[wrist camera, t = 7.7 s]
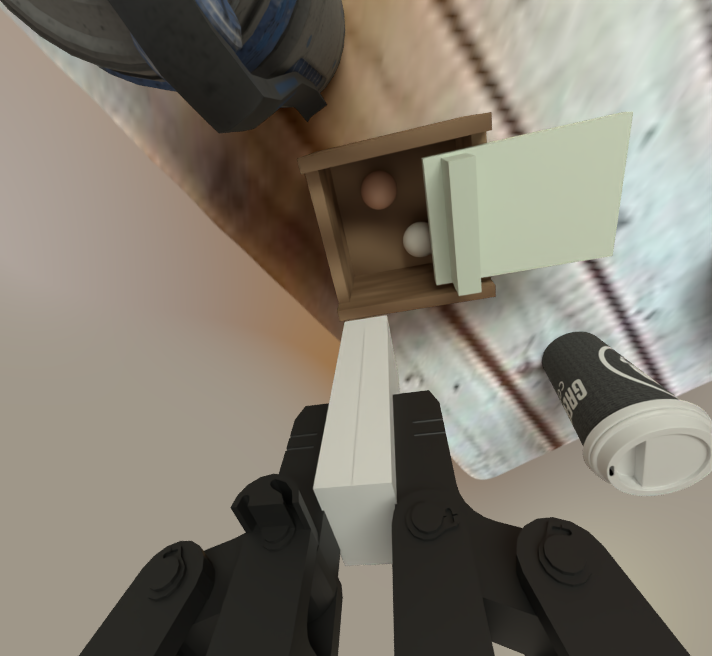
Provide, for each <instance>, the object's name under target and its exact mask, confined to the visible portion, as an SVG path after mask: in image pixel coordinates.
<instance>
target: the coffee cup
mask: <svg viewBox="0 0 712 656" xmlns="http://www.w3.org/2000/svg"><path fill="white" fill-rule="evenodd" d="M542 364H543V367H544V369H545V371H546V373H547V375H548V377H549V379H550V381H551V383H552V385H553V387H554V389H555V391H556V393H557V395H558V397H559V399H560V401H561V403H562V405H563V407H564V409H565V411H566V413H567V415H568V417H569V419H570V421H571V423H572V425H573V427H574V429H575V431H576V433H577V435H578V437H579V439H580V441H581V443H582V445H583V458H584V461H585V463H586V465H587V466H588V467H589V468H590V469H591V470H592V471H593V472H594V473H595V474H596V475H597V476H598V477H600V478H601V479H603V480H604V481H606V482H608V483H610V484H612V485H613V486H614V487H615V488H616V489H618V490H620V491H622V492H624V493H628V494H632V495H639V496H656V495H663V494H668V493H672V492H676V491H679V490H681V489H684V488H687V487H689V486H691V485H693V484H695V483H697V482H698V481H700V480H701V479H703V478H704V477H706V476H707V475H708V474H709V473H710V472H711V471H712V420H711V419H710V417H709V415H708V414H707V413H706V412H705V411H704V410H703V409H702V408H700V407H699V406H697V405H695V404H693V403H690V402H687V401H682V400H680V399H678V398H677V397H675V396H674V395H673V394H671V393H670V392H669V391H667V390H666V389H665V388H663V387H662V386H661V385H659V384H658V383H657V382H655V381H654V380H653V379H651V378H650V377H649V376H648V375H646V374H645V373H644V372H642V371H641V370H640V369H638V368H637V367H636V366H634V365H633V364H632V363H630V362H629V361H628V360H626V359H625V358H624V357H622V356H621V355H620V354H619V353H617V352H616V351H615V350H613V349H612V348H611V347H609V346H608V345H607V344H605V343H604V342H603V341H601V340H600V339H599V338H597V337H596V336H595V335H593V334H590V333H587V332H572V333H568V334H565V335H563V336H561V337H559V338H557V339H555V340H554V341H553V342H552V343H551V344H550V345H549V346H548V347H547V348H546V350H545V352H544V354H543V357H542Z"/></svg>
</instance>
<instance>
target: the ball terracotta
mask: <svg viewBox="0 0 712 656" xmlns="http://www.w3.org/2000/svg"><path fill="white" fill-rule="evenodd" d="M396 195H397V184H396V181H395V179H394V178H393V176H392V175H391V174H389V173H388V172H386V171H382V170H377V171H373V172H371V173H369V174H368V175H367V176H366V177H365V178H364V180H363V182H362V184H361V197H362V199H363V201H364V203H365V204H366V205H367V206H369V207H370V208H372V209H376V210H381V209H385V208H387V207H389V206H390V205H391V204H392V203H393V202H394V200H395V198H396Z"/></svg>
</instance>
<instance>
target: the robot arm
mask: <svg viewBox="0 0 712 656" xmlns="http://www.w3.org/2000/svg"><path fill="white" fill-rule="evenodd" d="M290 436H291V438H290V439H289V441H288V445H287V451H285V455H284V458H283V462H282V465H281V468H280V472H279V474H271V475H267V476H263V477H260V478H259V479H257V480H255V481H253V482H252V483H250V484H248V485H247V486H246V487H245V488H244V489H243V490H242V492H240V493H239V494H238V496H237V497H236V499H235V501H234V503H233V504H232V506H231V509H232V511H233V512H234V514H235V516H236V517H237V519H238V520H239V522H240V524H241V525H242V527H243V529H244V530H245V532H246V533H244V534H242V535H240V536H238V537H237V538H235V539H232V540H230V541H227V542H225V543H222V544H220V545H217V546H215V547H212V548H210V549H207V550H205V551H203V549H202V548H201V547H200V546H199V545H197V544H196V543H194V542H193V541H180V542H177V543H174V544H172V545H169V546H167V547H166V548H164V549H163V550H162V551H160V552H159V553H158V554H156V555H155V556H154V557H153V558H152V559H151V560H150V561H149V562H148V563H147V564H146V565H145V566H144V568H143V569H142V570H141V571H140V573H139V574H138V576H137V577H136V578H135V580H134V581H133V582H132V584H131V585H130V587H129V588H128V589H127V590H126V592H125V593H124V595H123V596H122V597H121V599H120V600H119V601H118V603H117V604H116V606H115V607H114V608H113V610H112V611H111V612H110V614H109V615H108V616H107V618H106V619H105V621H104V622H103V623H102V625H101V626H100V627H99V629H98V630H97V632H96V633H95V634H94V636H93V637H92V638H91V640H90V641H89V642H88V644H87V645H86V647H85V648H84V649H83V651H82V652H81V653H80V655H79V656H338V647H339V635H340V623H341V611H342V598H343V597H342V585H341V583H340V581H339V578H338V570H339V560H340V555H341V557H342V560H343V562H344V564H345V566H352V565H376V564H392V567H393V610H394V611H393V613H394V656H495V655H494V650H493V646H492V642H494V643H497V644H499V645H502V646H504V647H507V648H509V649H512V650H514V651H517V652H520V653H522V654H524V655H525V656H690V654H689V653H688V652H687V651H686V649H685V648H684V647H683V646H682V644H681V643H680V642H679V641H678V639H677V638H676V637H675V636H674V634H673V633H672V632H671V631H670V629H669V628H668V627H667V625H666V624H665V623H664V622H663V620H662V619H661V618H660V617H659V615H658V614H657V613H656V612H655V610H654V609H653V608H652V606H651V605H650V604H649V603H648V601H647V600H646V599H645V598H644V596H643V595H642V594H641V593H640V591H639V590H638V589H637V588H636V586H635V585H634V584H633V583H632V582H631V580H630V579H629V578H628V576H627V575H626V574H625V573H624V571H623V570H622V569H621V567H620V566H619V565H618V564H617V562H616V561H615V560H614V559H613V557H612V556H611V555H610V554H609V552H608V551H607V550H606V549H605V547H604V546H603V545H602V544H601V543H600V542H599V541H598V540H597V539H596V538H595V537H594V536H593V535H591V534H590V533H589V532H588V531H587V530H585V529H583V528H581V527H579V526H578V525H576V524H574V523H572V522H570V521H566V520H562V519H558V518H554V517H550V518H540V519H536V520H534V521H532V522H530V523H529V524H527V525H525V526H524V527H523V528H520V527H516V526H512V525H508V524H504V523H500V522H497V521H494V520H491V519H488V518H486V517H483V516H482V515H480V514H479V513H477V512H475V511H474V510H473V509H472V508H471V507H470V506H469V505H468V504H467V503H465V501H464V499H463V498H462V496H461V495H460V493H459V490H458V487H457V484H456V480H455V475H454V470H453V465H452V461H451V456H450V451H449V446H448V441H447V437H446V432H445V427H444V422H443V418H442V413H441V408H440V403H439V401H438V400H437V399H436V398H435V397H434V396H433V395H432V393H431V392H430V391H429V390H427V391H419V392H410V393H402V394H400V388H399V376H398V371H397V365H396V360H395V355H394V350H393V344H392V339H391V334H390V329H389V323H388V318H387V315H385V316H378V317H372V318H366V319H359V320H353V321H346V322H345V323H344V328H343V334H342V339H341V344H340V350H339V355H338V360H337V365H336V371H335V376H334V381H333V387H332V392H331V397H330V402H329V403H328V404H320V405H312V406H305V408H304V409H303V410H302V412H301V413H300V414H299V415H298V417H297V418H296V419H295V421H294V425H293V428H292V431H291V435H290Z"/></svg>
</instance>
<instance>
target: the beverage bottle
mask: <svg viewBox="0 0 712 656" xmlns="http://www.w3.org/2000/svg"><path fill="white" fill-rule="evenodd" d="M0 1H1V2H2V3H3V4H4V5H5V6H6V7H7V8H8V9H9V10H10V11H11V12H12V13H13V14H14V15H16V16H17V17H18V18H19V19H20V20H22V21H23V22H24V23H25V24H26V25H28V26H29V27H30V28H31V29H32V30H33V31H35V32H36V33H37V34H38V35H39V36H41V37H42V38H44V39H46V40H47V41H49V42H51V43H52V44H54V45H56V46H57V47H59V48H60V49H62V50H64V51H65V52H67V53H69V54H70V55H72V56H75V57H77V58H80V59H82V60H85V61H88V62H90V63H93V64H95V65H97V66H99V67H100V68H101V69H103V70H105V71H106V72H108V73H110V74H112V75H114V76H117V77H119V78H122V79H125V80H127V81H130V82H132V83H135V84H137V85H142V86H147V87H153V88H158V89H164V90H170V91H176V92H178V93H179V94H180V95H181V96H182V97H183V98H184V99H185V100H186V101H187V102H188V103H189V104H190V105H191V106H192V107H193V108H194V109H195V110H196V111H197V112H198V113H199V114H200V115H201V116H202V117H203V118H204V119H205V120H206V121H207V122H208V123H209V124H210V125H211V126H212V127H213V128H214V129H215V130H216V131H217V132H218V133H229V132H240V131H246V130H251V129H254V128H256V127H257V126H258V125H259V124H261V123H262V122H263V121H265V120H266V119H267V118H268V117H270V116H271V115H272V114H273V113H275V112H276V111H277V110H278V109H279V108H280V107H281V108H286V107H294V108H296V109H297V110H298V111H299V113H300V114H301V115H302V116H303V117H304V119H305V120H306V121H307V122H308V121H309V119H310V118H311V117H312V116H313V115H314V114H316V113H317V112H318V111H320V110H321V109H322V108H324V107H325V106H326V105H327V104H326V102H325V100H324V99H323V97H322V96H321V94H320V93H321V92H322V91H323V90H324V89H325V88H326V86H327V85H328V83H329V82H330V80H331V79H332V78H333V76H334V74H335V72H336V69H337V67H338V65H339V63H340V59H341V55H342V51H343V47H344V37H345V20H344V10H343V5H342V1H341V0H0Z"/></svg>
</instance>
